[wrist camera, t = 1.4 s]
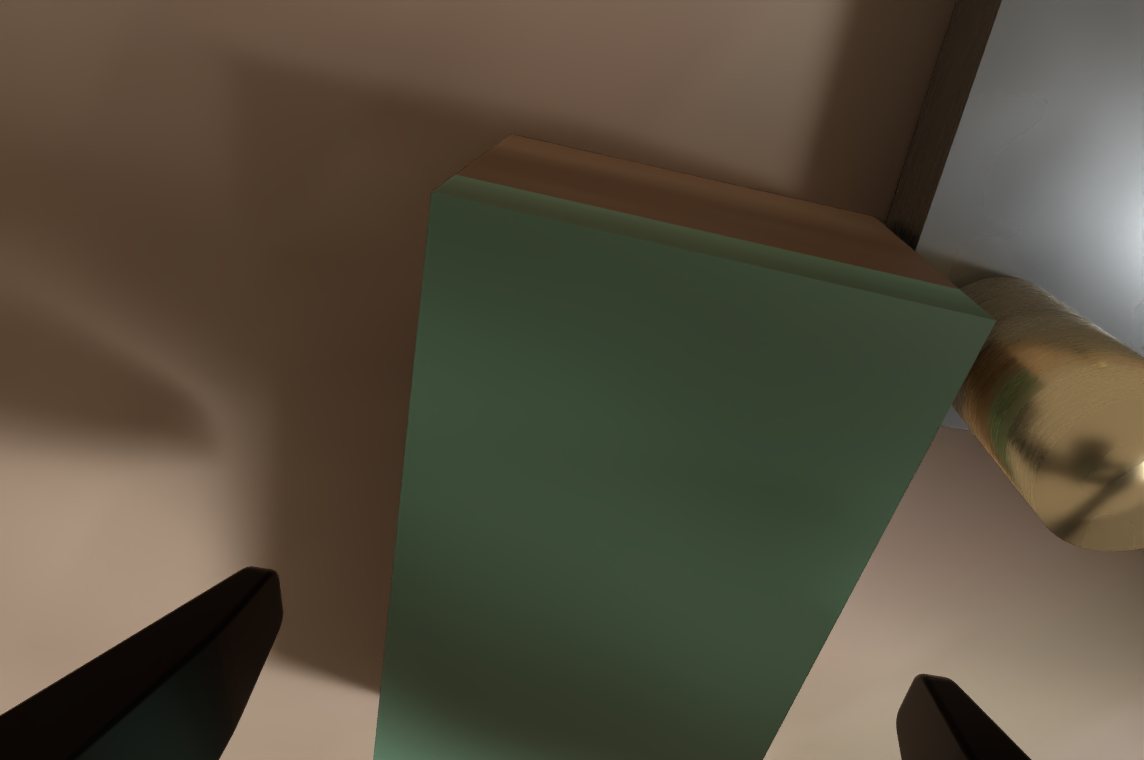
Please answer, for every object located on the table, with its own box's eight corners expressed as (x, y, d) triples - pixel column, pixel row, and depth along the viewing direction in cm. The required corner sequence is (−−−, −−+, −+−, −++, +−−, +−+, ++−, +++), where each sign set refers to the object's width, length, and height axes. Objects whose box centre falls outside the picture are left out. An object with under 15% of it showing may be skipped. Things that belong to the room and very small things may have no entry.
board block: (514, 131, 10) (432, 191, 6) (868, 212, 9) (996, 320, 6) (428, 698, 15) (358, 903, 12) (651, 749, 15) (649, 970, 12)
